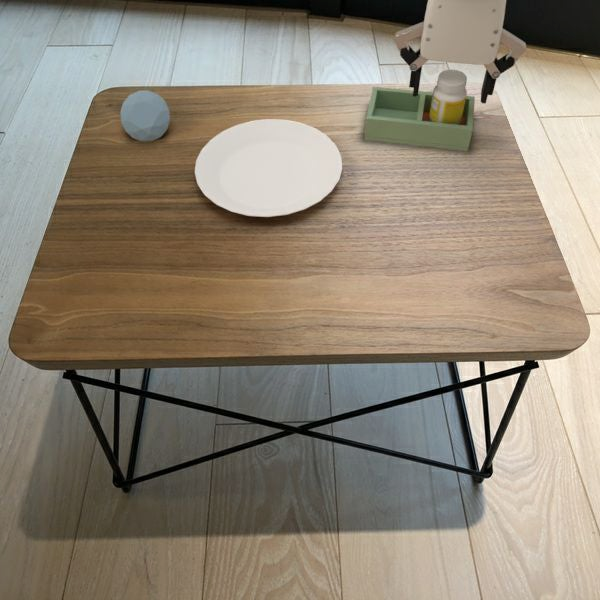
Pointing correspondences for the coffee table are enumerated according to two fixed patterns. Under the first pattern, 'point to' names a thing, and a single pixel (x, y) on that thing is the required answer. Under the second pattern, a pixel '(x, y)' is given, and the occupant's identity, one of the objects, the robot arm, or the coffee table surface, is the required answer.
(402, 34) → the robot arm
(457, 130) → the holder
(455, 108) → the supplement bottle
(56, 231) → the coffee table surface
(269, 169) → the plate
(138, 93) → the gemstone
